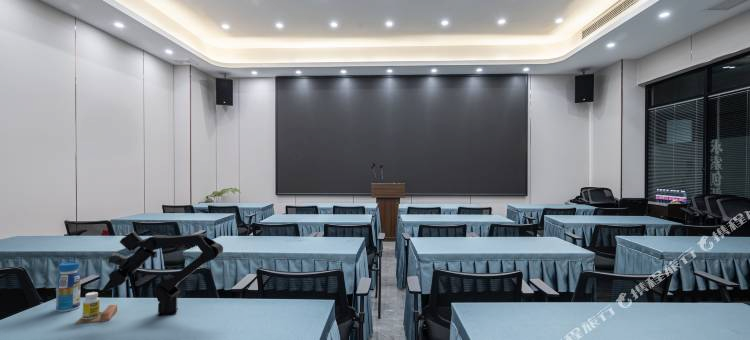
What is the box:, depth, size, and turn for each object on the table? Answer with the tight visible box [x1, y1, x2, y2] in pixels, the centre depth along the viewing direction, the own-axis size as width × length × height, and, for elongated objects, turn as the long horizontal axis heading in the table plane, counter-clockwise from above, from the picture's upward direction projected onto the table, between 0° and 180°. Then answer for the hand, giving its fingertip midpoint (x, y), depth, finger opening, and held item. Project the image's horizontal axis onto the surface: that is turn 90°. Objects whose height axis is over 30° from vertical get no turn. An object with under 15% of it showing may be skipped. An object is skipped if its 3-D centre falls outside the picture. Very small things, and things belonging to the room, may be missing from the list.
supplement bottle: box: [82, 291, 101, 319], centre depth 149 cm, size 5×5×10 cm
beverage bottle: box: [55, 261, 82, 313], centre depth 159 cm, size 8×8×20 cm
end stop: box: [74, 304, 118, 325], centre depth 150 cm, size 12×10×3 cm
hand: (107, 287), depth 151 cm, fingers open, 9 cm apart
